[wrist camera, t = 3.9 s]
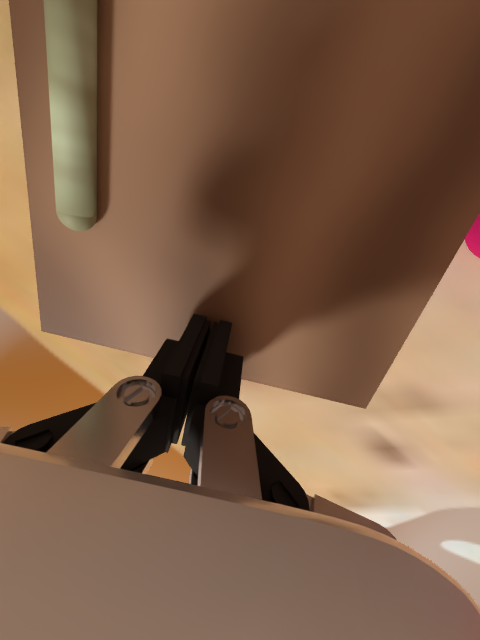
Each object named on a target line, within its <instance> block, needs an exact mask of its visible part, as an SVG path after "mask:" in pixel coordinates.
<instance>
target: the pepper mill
mask: <svg viewBox="0 0 480 640" xmlns="http://www.w3.org/2000/svg"><path fill="white" fill-rule="evenodd" d="M465 242H466V244H467V246H468V248H469V249H470V251H471V252H472V253H473V254H474V255H476V256H477V257H479V258H480V213H479V215H478V217H477V218H476V220H475V222H474V224H473V225H472V227H471V229H470V230H469V232H468V234H467V236H466V237H465Z"/></svg>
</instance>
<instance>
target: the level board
mask: <svg viewBox="0 0 480 640" xmlns="http://www.w3.org/2000/svg"><path fill="white" fill-rule="evenodd" d="M9 6H10V16H11V26H12V37H13V47H14V57H15V67H16V77H17V87H18V97H19V107H20V117H21V128H22V138H23V148H24V158H25V168H26V178H27V188H28V198H29V208H30V219H31V229H32V239H33V249H34V259H35V269H36V279H37V289H38V299H39V310H40V320H41V330H42V331H43V332H47V333H52V334H56V335H60V336H64V337H68V338H73V339H77V340H81V341H85V342H89V343H93V344H98V345H102V346H106V347H110V348H114V349H118V350H123V351H127V352H131V353H135V354H139V355H144V356H148V357H152V358H154V357H155V356H156V354H157V353H158V351H159V350H160V348H161V346H162V345H163V343H164V342H165V340H166V339H172V340H176V341H179V340H180V338H181V336H182V334H183V332H184V330H185V329H186V327H187V325H188V323H189V321H190V319H191V318H192V316H193V314H198V315H202V316H206V317H207V318H206V320H208V321H211V322H210V328H209V333H208V338H207V341H208V339H209V336H210V333H211V330H212V327H213V325H214V322H217V323H219V322H220V320H223V321H227V322H231V323H232V328H231V332H230V337H229V341H228V346H227V350H226V352H227V353H231V354H235V355H240V356H243V367H242V375H241V379H244V380H248V381H252V382H256V383H261V384H265V385H269V386H273V387H277V388H281V389H286V390H290V391H294V392H298V393H302V394H306V395H311V396H315V397H319V398H323V399H327V400H332V401H336V402H340V403H344V404H348V405H352V406H357V407H361V408H365V409H366V407H367V405H368V404H369V402H370V400H371V399H372V397H373V395H374V393H375V392H376V390H377V388H378V387H379V385H380V383H381V381H382V380H383V378H384V376H385V375H386V373H387V371H388V369H389V368H390V366H391V364H392V363H393V361H394V359H395V357H396V356H397V354H398V352H399V351H400V349H401V347H402V345H403V344H404V342H405V340H406V339H407V337H408V335H409V333H410V332H411V330H412V328H413V327H414V325H415V323H416V321H417V320H418V318H419V316H420V314H421V313H422V311H423V309H424V308H425V306H426V304H427V302H428V301H429V299H430V297H431V296H432V294H433V292H434V290H435V289H436V287H437V285H438V284H439V282H440V280H441V278H442V277H443V275H444V273H445V272H446V270H447V268H448V266H449V265H450V263H451V261H452V260H453V258H454V256H455V254H456V253H457V251H458V249H459V248H460V246H461V244H462V242H463V241H464V239H465V237H466V236H467V234H468V232H469V230H470V229H471V227H472V225H473V224H474V222H475V220H476V218H477V217H478V215H479V213H480V0H9ZM206 344H207V342H206Z"/></svg>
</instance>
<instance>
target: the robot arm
mask: <svg viewBox="0 0 480 640" xmlns="http://www.w3.org/2000/svg"><path fill="white" fill-rule="evenodd" d="M206 318H207V317H206V316H202V315H198V314H193V316H192V318H191V319H190V321H189V323H188V325H187V327H186V329H185V330H184V332H183V334H182V336H181V338H180V340H179V341H176V340H172V339H166V340H165V342H164V343H163V345H162V346H161V348H160V350H159V351H158V353H157V354H156V356H155V357H154V359H153V361H152V362H151V364H150V365H149V367H148V369H147V370H146V372H145V373H144V375H143V376H132V377H127V378H125V379H123V380H121V381H119V382H118V383H117V384H115V385H114V386H113V387H112V388H111V389H110V390H109V391H108V392H107V393H106V394H105V395H104V396H103V397H102V398H101V399H100V400H99V401H98V402H97V403H94V404H91V405H88V406H85V407H82V408H79V409H76V410H72V411H69V412H66V413H63V414H60V415H57V416H54V417H51V418H48V419H45V420H42V421H39V422H36V423H33V424H30V425H27V426H25V427H23V428H20V429H19V430H17V431H12V429H11V427H0V640H480V607H479V605H478V604H477V603H476V601H475V600H474V599H473V598H472V597H471V595H470V594H469V593H468V592H467V591H466V590H465V589H464V588H463V587H462V586H461V585H460V584H459V583H458V582H457V581H456V580H455V579H454V578H452V577H451V576H450V575H449V574H447V573H446V572H445V571H444V570H443V569H441V568H440V567H439V566H437V565H436V564H435V563H433V562H432V561H431V560H429V559H427V558H426V557H424V556H422V555H421V554H420V553H418V552H416V551H415V550H413V549H412V548H410V547H409V546H407V545H405V544H403V543H401V542H399V541H397V540H396V538H395V537H394V536H393V535H392V534H391V533H390V532H389V531H388V530H387V529H386V528H384V527H383V526H381V525H379V524H378V523H376V522H374V521H371V520H369V519H367V518H365V517H363V516H361V515H359V514H356V513H354V512H352V511H350V510H348V509H346V508H344V507H341V506H339V505H337V504H335V503H333V502H331V501H329V500H326V499H324V498H322V497H320V496H318V495H316V494H315V495H314V497H311V496H309V495H307V494H306V493H305V491H304V490H303V488H302V487H301V486H300V484H299V483H298V482H297V481H296V480H295V478H294V477H293V476H292V475H291V474H290V473H289V472H288V471H287V470H286V468H285V467H284V466H283V465H282V464H281V463H280V462H279V461H278V459H277V458H276V457H275V456H274V455H273V454H272V453H271V452H270V451H269V449H268V448H267V447H266V446H265V445H264V444H263V443H262V442H261V440H260V439H259V438H258V437H257V436H256V435H255V434H254V433H253V425H252V418H251V413H250V410H249V409H248V407H247V406H246V404H244V403H243V402H242V401H241V400H239V393H240V384H241V375H242V367H243V356H240V355H235V354H231V353H227V352H226V350H227V346H228V341H229V337H230V332H231V328H232V323H231V322H227V321H223V320H220V322H219V323H217V322H214V325H213V327H212V330H211V333H210V336H209V339H208V341H207V338H208V333H209V328H210V322H211V321H208V320H206ZM206 342H207V344H206ZM186 415H187V418H186ZM185 418H186V423H185V428H184V433H183V439H182V444H181V445H183V446H186V447H185V452H184V458H185V459H186V461H187V462H188V464H189V466H190V467H191V473H190V481H189V484H188V483H183V482H179V481H174V480H170V479H165V478H160V477H156V476H151V475H147V472H148V471H149V469H150V467H151V465H152V462H153V459H154V457H156V456H158V455H160V454H162V453H164V452H168V451H169V448H170V445H171V443H174V444H177V442H178V439H179V436H180V433H181V430H182V427H183V424H184V421H185Z"/></svg>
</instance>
